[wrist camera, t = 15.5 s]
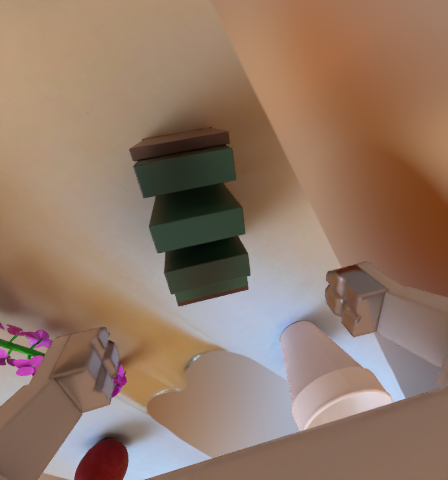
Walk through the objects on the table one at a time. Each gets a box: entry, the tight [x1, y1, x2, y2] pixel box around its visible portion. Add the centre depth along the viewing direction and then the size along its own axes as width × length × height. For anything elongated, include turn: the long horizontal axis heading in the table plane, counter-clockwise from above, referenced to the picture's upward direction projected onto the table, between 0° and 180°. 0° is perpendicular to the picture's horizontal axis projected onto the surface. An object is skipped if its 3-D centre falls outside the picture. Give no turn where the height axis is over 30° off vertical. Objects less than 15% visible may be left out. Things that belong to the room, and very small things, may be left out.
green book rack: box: [129, 127, 250, 306], centre depth 22 cm, size 7×14×13 cm, turn 8°
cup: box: [280, 321, 392, 431], centre depth 36 cm, size 12×12×14 cm
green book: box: [149, 183, 245, 253], centre depth 21 cm, size 6×2×12 cm, turn 98°
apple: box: [74, 439, 128, 480], centre depth 42 cm, size 8×8×8 cm
